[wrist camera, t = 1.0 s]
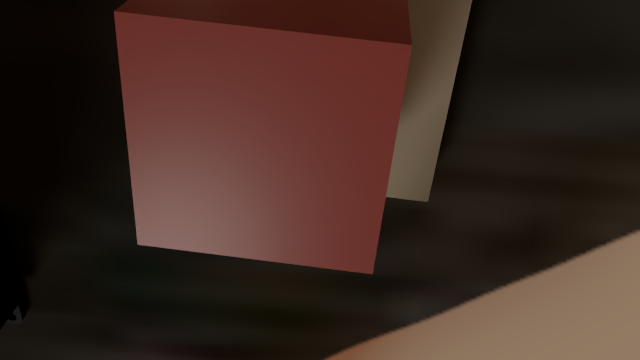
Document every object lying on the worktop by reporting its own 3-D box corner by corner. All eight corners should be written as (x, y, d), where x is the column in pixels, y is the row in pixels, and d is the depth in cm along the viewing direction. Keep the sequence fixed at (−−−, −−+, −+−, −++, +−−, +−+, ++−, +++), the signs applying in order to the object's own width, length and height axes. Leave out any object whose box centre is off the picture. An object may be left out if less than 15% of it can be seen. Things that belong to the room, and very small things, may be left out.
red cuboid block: (182, 163, 19) (137, 244, 15) (173, -35, 15) (114, 11, 12) (375, 187, 18) (372, 274, 15) (406, -10, 15) (412, 45, 12)
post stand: (156, 146, 22) (81, 259, 17) (136, -123, 17) (22, -87, 12) (425, 178, 22) (438, 304, 17) (481, -87, 17) (526, -32, 12)
